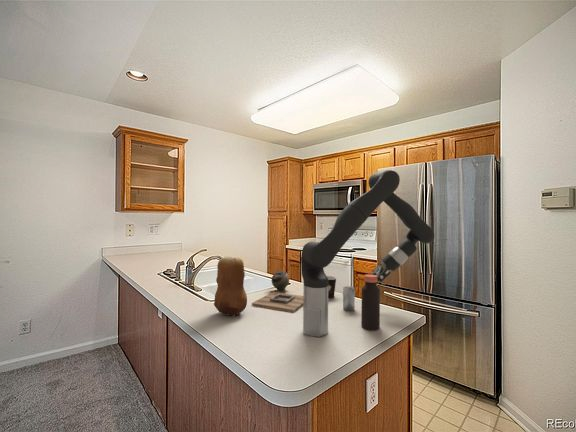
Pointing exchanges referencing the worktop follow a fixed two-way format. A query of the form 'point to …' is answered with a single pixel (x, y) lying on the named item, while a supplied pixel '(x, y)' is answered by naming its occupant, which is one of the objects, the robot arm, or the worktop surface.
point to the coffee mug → (331, 286)
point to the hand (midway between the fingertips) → (368, 283)
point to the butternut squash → (230, 286)
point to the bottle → (370, 303)
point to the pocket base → (280, 302)
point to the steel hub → (348, 298)
